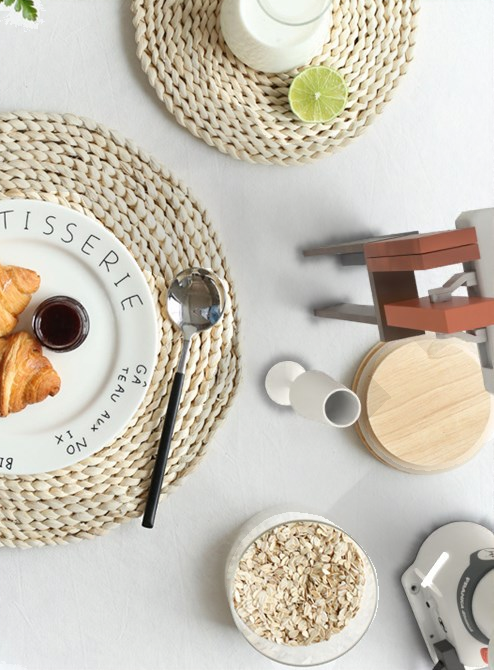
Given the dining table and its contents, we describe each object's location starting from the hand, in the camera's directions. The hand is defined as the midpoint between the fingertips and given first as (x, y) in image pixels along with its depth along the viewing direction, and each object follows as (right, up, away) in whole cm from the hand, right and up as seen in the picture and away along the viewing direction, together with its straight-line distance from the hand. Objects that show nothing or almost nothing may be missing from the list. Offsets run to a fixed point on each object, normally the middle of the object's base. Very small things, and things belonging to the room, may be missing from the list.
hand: (434, 314), depth 87 cm
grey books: (+3, +9, +37) cm, 38 cm away
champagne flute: (-8, -11, +37) cm, 39 cm away
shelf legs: (-2, +3, +37) cm, 37 cm away
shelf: (-1, +3, +12) cm, 13 cm away
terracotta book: (0, 0, +8) cm, 8 cm away
